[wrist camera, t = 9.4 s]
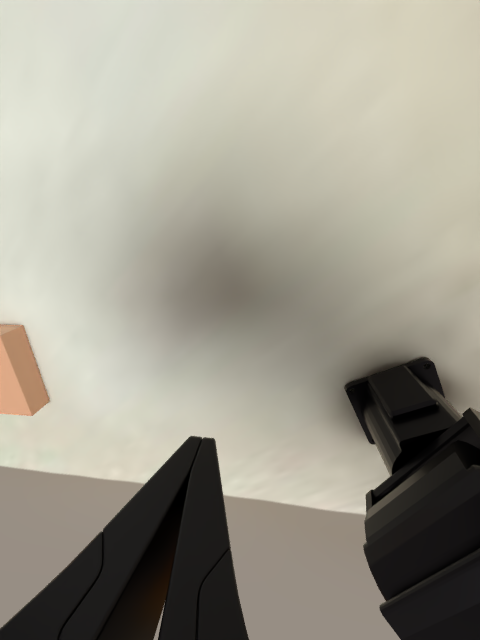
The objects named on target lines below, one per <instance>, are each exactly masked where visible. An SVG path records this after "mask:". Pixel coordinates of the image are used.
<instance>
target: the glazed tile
mask: <svg viewBox="0 0 480 640" xmlns="http://www.w3.org/2000/svg"><path fill="white" fill-rule="evenodd" d="M49 401H50V400H49V397H48V394H47V391H46V389H45V386H44V383H43V380H42V377H41V374H40V372H39V369H38V366H37V363H36V360H35V357H34V354H33V352H32V349H31V346H30V343H29V340H28V337H27V335H26V332H25V329H24V326H23V325H2V324H0V414H13V415H27V416H33V415H34V414H35V413H36V412H37V411H39V410H40V409H41V408H42V407H43V406H44V405H46V404H47V403H48V402H49Z"/></svg>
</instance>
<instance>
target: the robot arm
mask: <svg viewBox="0 0 480 640" xmlns="http://www.w3.org/2000/svg"><path fill="white" fill-rule="evenodd" d="M427 363H428V364H427ZM425 364H427V365H426V366H424V365H425ZM352 388H354V390H352V391H350V389H352ZM345 391H346V393H347V395H348V397H349V400H350V402H351V404H352V406H353V408H354V410H355V413H356V415H357V417H358V419H359V421H360V423H361V426H362V428H363V430H364V432H365V434H366V436H367V439H368V441H369V442H370V443H371V444H376V446H377V448H378V450H379V452H380V454H381V457H382V459H383V461H384V463H385V465H386V467H387V469H388V472H389V474H390V477H389V478H388V479H387V480H385V481H384V482H383V483H382V484H381V485H379V486H378V487H377V488H376V489H375V490H370V491H369V492H368V493H367V494H366V512H367V514H366V518H365V533H366V541H367V542H366V543H365V544H364V545H363V547H364V553H365V556H366V559H367V562H368V565H369V568H370V571H371V573H372V575H373V577H374V579H375V581H376V584H377V586H378V588H379V590H380V591H381V593H382V595H383V597H384V599H385V600H386V602H384V603H382V604H381V605H380V611H381V613H382V615H383V616H384V617H385V619H386V620H387V622H388V623H389V624H390V626H391V627H392V628H393V629H394V631H395V632H396V634H397V635H398V636H399V638H400V639H401V640H480V413H479V412H477V411H476V410H474V409H472V408H469V409H468V410H467V411H465V412H464V413H463V414H462V415H463V417H462V416H461V415H460V414H459V413H458V412H457V411H456V410H455V409H454V408H453V406H452V405H451V404H450V403H449V402H448V401H447V400H446V399H445V396H444V393H443V390H442V387H441V383H440V380H439V377H438V374H437V371H436V368H435V365H434V363H433V362H432V361H431V360H430V359H428V358H421V359H419V360H416V361H413V362H410V363H407V364H404V365H401V366H398V367H395V368H392V369H389V370H386V371H383V372H380V373H378V374H375V375H372V376H369V377H366V378H363V379H360V380H357V381H354V382H351V383H349V384H347V385H346V386H345ZM230 548H231V547H230V540H229V533H228V526H227V519H226V512H225V505H224V498H223V491H222V484H221V477H220V470H219V463H218V456H217V449H216V442H215V439H214V438H206V437H204V438H203V439H202V437H197V436H190V437H189V438H188V439H187V440H186V441H185V442H184V443H183V444H182V445H181V446H180V448H179V449H178V450H177V451H176V452H175V453H174V454H173V455H172V456H171V457H170V458H169V459H168V460H167V461H166V462H165V464H164V465H163V466H162V467H161V468H160V469H159V470H158V471H157V472H156V473H155V474H154V475H153V476H152V477H151V478H150V480H149V481H148V482H147V483H146V484H145V485H144V486H143V487H142V488H141V489H140V490H139V491H138V492H137V493H136V494H135V496H134V497H133V498H132V499H131V500H130V501H129V502H128V503H127V504H126V505H125V506H124V508H122V509H121V510H120V512H119V513H118V514H117V515H116V516H115V517H114V518H113V519H112V520H111V521H110V522H109V523H108V524H107V525H106V526H105V528H104V529H103V532H102V531H101V532H100V533H99V534H98V535H97V536H96V537H95V538H94V539H93V540H92V541H91V542H90V543H89V544H88V546H87V547H86V548H85V549H84V550H83V551H82V552H81V553H80V554H79V555H78V556H77V557H76V558H75V559H74V560H73V561H72V562H71V563H70V564H69V565H68V566H67V567H66V568H65V569H64V570H63V571H62V572H61V573H60V574H59V575H57V577H55V578H54V579H53V580H52V581H51V582H50V583H49V584H48V585H47V586H46V587H45V588H44V589H43V590H42V591H41V592H39V593H38V594H37V595H36V596H35V597H34V598H33V599H32V600H31V601H30V602H29V603H28V604H26V605H25V606H24V607H23V608H22V609H21V610H20V611H19V612H18V613H17V614H16V615H15V616H14V617H12V618H11V619H10V620H9V621H8V622H7V623H6V624H5V625H4V626H3V627H1V628H0V640H153V639H154V636H155V633H156V629H157V626H158V623H159V620H160V616H161V613H162V610H163V607H164V611H163V616H162V621H161V627H160V632H159V637H158V640H249V638H248V634H247V630H246V626H245V622H244V618H243V614H242V609H241V604H240V600H239V596H238V590H237V584H236V579H235V573H234V567H233V560H232V553H231V550H230ZM165 600H166V601H165ZM164 603H165V606H164Z"/></svg>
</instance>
